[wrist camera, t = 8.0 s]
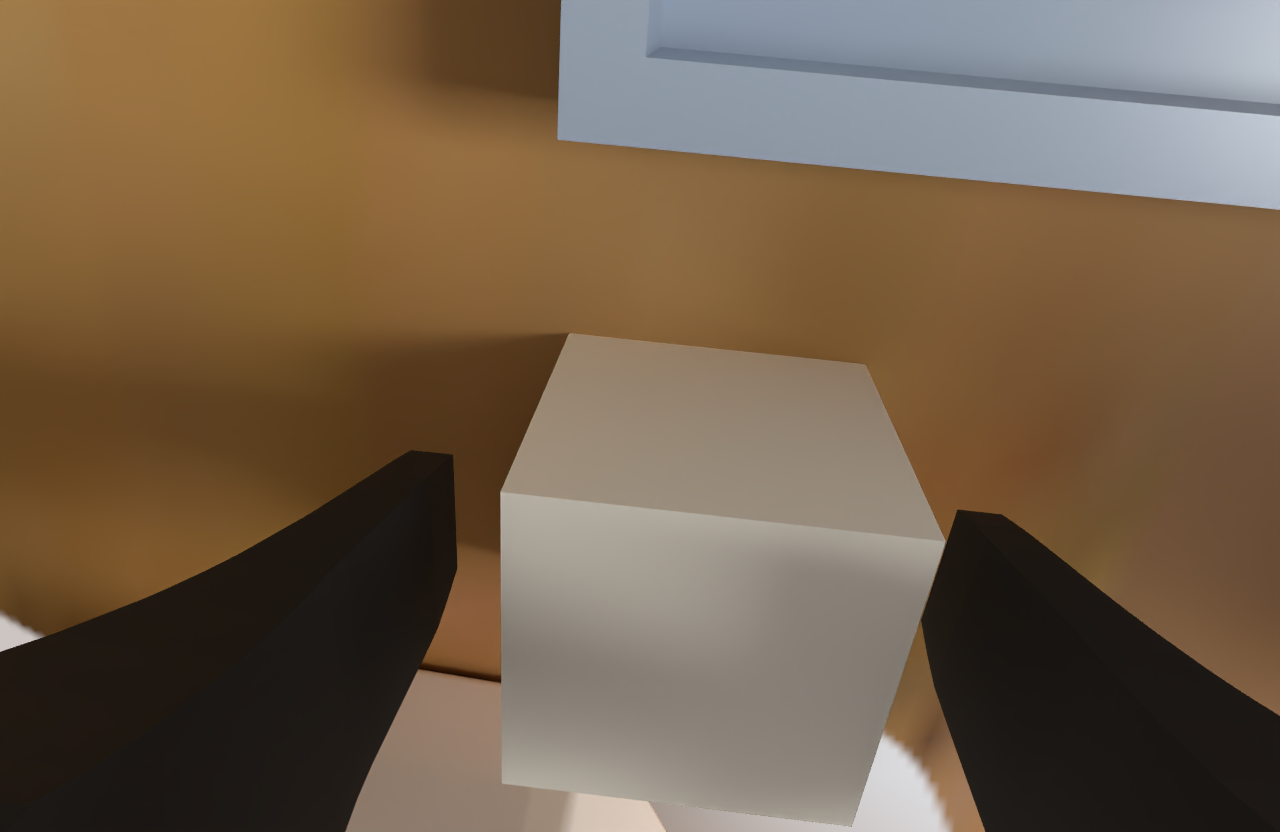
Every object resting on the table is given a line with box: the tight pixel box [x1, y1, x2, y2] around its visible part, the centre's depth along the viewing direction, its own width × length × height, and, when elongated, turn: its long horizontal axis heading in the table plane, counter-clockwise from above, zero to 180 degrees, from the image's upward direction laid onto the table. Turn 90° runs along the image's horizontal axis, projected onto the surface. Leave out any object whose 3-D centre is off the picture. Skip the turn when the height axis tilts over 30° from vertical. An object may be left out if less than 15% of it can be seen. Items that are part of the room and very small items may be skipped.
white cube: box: [500, 333, 946, 827], centre depth 11 cm, size 4×4×4 cm
